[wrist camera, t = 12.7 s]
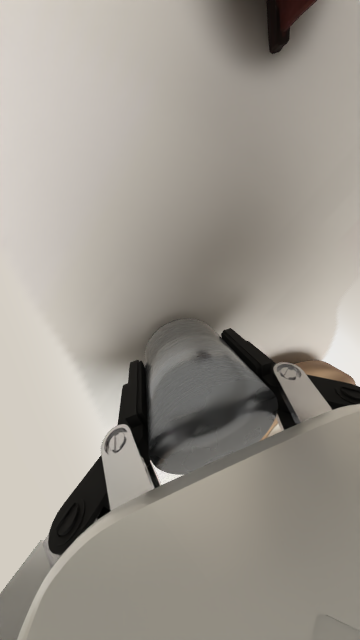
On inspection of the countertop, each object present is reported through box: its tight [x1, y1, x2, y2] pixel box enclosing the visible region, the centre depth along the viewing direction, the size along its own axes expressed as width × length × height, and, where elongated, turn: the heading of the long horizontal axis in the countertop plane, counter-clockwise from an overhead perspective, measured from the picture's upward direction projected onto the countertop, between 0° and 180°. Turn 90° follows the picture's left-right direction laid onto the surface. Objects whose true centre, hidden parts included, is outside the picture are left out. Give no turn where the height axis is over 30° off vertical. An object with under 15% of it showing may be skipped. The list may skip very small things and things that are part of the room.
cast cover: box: [145, 319, 278, 475], centre depth 9 cm, size 6×6×6 cm
